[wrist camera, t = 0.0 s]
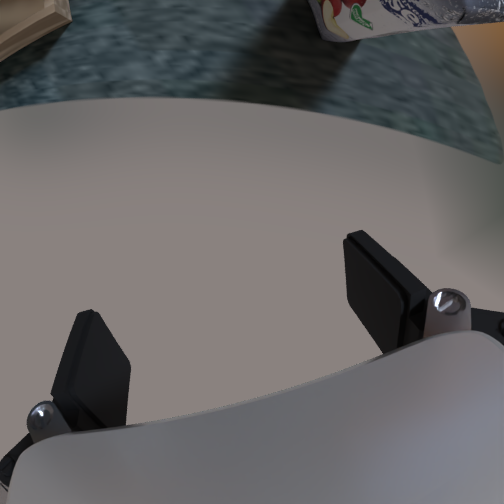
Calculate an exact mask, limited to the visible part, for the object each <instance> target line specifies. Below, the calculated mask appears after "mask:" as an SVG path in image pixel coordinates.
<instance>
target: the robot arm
mask: <svg viewBox="0 0 504 504" xmlns="http://www.w3.org/2000/svg"><path fill="white" fill-rule="evenodd" d="M343 248H344V258H345V273H346V285H347V286H346V287H347V299H348V303H349V305H350V306H351V308H352V309H353V311H354V312H355V314H356V315H357V316H358V318H359V319H360V321H361V322H362V324H363V325H364V326H365V328H366V329H367V331H368V332H369V334H370V335H371V337H372V338H373V339H374V341H375V342H376V344H377V345H378V347H379V348H380V350H381V351H382V353H383V354H382V355H380V356H378V357H375V358H373V359H370V360H367V361H365V362H362V363H359V364H357V365H354V366H351V367H349V368H346V369H344V370H341V371H338V372H335V373H333V374H330V375H327V376H324V377H321V378H318V379H316V380H313V381H310V382H307V383H304V384H301V385H297V386H294V387H291V388H288V389H285V390H281V391H278V392H275V393H272V394H268V395H265V396H261V397H258V398H254V399H250V400H247V401H243V402H239V403H236V404H231V405H227V406H223V407H219V408H216V409H211V410H207V411H202V412H198V413H193V414H188V415H183V416H178V417H173V418H168V419H162V420H157V421H151V422H145V423H139V424H132V425H126V414H127V402H128V392H129V382H130V373H131V365H130V362H129V360H128V358H127V357H126V355H125V354H124V352H123V351H122V349H121V348H120V346H119V345H118V343H117V342H116V340H115V338H114V337H113V335H112V334H111V332H110V330H109V329H108V327H107V326H106V324H105V322H104V321H103V319H102V317H101V316H100V314H99V313H98V312H94V311H93V310H92V309H90V310H86V311H83V312H79V313H78V314H77V316H76V319H75V321H74V324H73V327H72V330H71V332H70V335H69V338H68V341H67V343H66V346H65V349H64V352H63V355H62V358H61V361H60V364H59V367H58V371H57V374H56V377H55V380H54V384H53V387H52V390H51V395H52V396H53V397H54V398H53V401H52V402H51V401H43V402H40V403H38V404H37V405H35V406H34V407H33V408H32V409H31V411H30V413H29V415H28V417H27V428H28V431H29V433H28V434H27V435H26V436H25V437H24V438H23V439H22V440H21V441H20V442H19V443H18V444H17V445H16V446H15V447H14V448H13V449H11V450H10V451H9V452H8V453H7V454H6V455H5V456H4V457H3V459H2V460H1V461H0V504H504V313H503V312H496V311H490V310H483V309H477V308H471V304H470V301H469V299H468V297H467V296H466V295H465V294H464V293H462V292H460V291H458V290H455V289H450V288H444V289H439V290H437V291H435V292H433V293H432V292H431V291H430V290H429V289H428V288H427V287H426V286H425V285H424V284H423V283H422V282H421V281H420V280H419V279H417V277H415V276H414V275H413V274H412V273H411V272H410V271H409V270H408V269H407V268H406V267H405V266H404V265H403V264H401V263H400V262H399V261H398V260H397V259H396V258H394V257H393V256H391V254H389V253H388V252H387V251H386V250H385V249H384V248H383V247H382V246H380V245H379V244H378V243H377V242H376V241H375V240H374V239H372V238H371V237H370V236H369V235H368V234H367V233H366V232H364V231H363V230H359V231H356V232H353V233H349V234H348V235H347V238H346V239H344V240H343Z"/></svg>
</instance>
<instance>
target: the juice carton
mask: <svg viewBox="0 0 504 504" xmlns="http://www.w3.org/2000/svg"><path fill="white" fill-rule="evenodd" d="M307 1H308V3H309V5H310V7H311V10H312V12H313V15H314V18H315V21H316V24H317V28H318V31H319V33H320V36H321V38H322V40H326V41H334V42H348V41H354V40H359V39H364V38H376V37H382V36H388V35H393V34H399V33H405V32H411V31H418V30H425V29H433V28H442V27H451V26H462V25H474V24H483V23H495V22H503V21H504V0H307Z"/></svg>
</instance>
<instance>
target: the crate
mask: <svg viewBox="0 0 504 504" xmlns="http://www.w3.org/2000/svg"><path fill="white" fill-rule="evenodd" d="M70 22H72V17H71V12H70V6H69V1H68V0H0V62H1V61H3V60H4V59H6V58H7V57H9V56H10V55H12V54H14V53H15V52H17V51H18V50H20V49H22V48H23V47H25V46H27V45H28V44H30V43H32V42H33V41H35V40H37V39H39V38H41V37H42V36H44V35H46V34H48V33H50V32H52V31H54V30H56V29H58V28H60V27H62V26H64V25H66V24H68V23H70Z"/></svg>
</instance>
